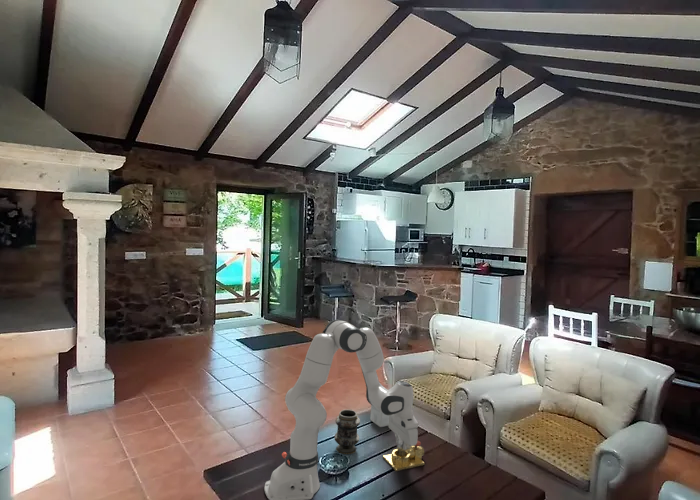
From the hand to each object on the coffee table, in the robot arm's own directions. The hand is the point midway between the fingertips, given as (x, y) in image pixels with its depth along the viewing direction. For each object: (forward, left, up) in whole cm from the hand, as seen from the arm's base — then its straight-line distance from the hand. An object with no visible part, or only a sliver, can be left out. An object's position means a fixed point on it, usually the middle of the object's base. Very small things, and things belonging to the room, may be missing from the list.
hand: (401, 446), depth 202 cm
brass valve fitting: (+3, 0, -7) cm, 8 cm away
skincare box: (+10, +39, -8) cm, 41 cm away
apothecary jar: (-19, +19, -8) cm, 28 cm away
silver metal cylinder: (0, 0, -4) cm, 4 cm away
